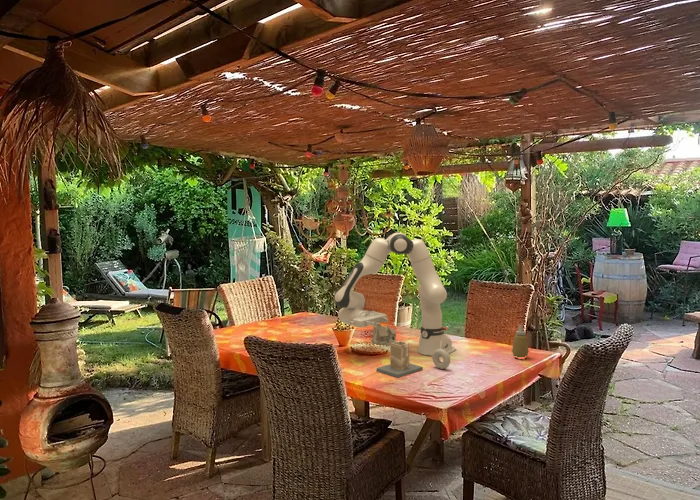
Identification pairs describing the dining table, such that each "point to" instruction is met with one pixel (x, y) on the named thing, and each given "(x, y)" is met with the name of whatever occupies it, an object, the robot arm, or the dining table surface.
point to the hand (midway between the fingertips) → (380, 322)
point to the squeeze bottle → (520, 343)
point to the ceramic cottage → (383, 335)
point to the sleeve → (399, 355)
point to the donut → (437, 361)
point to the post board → (399, 373)
